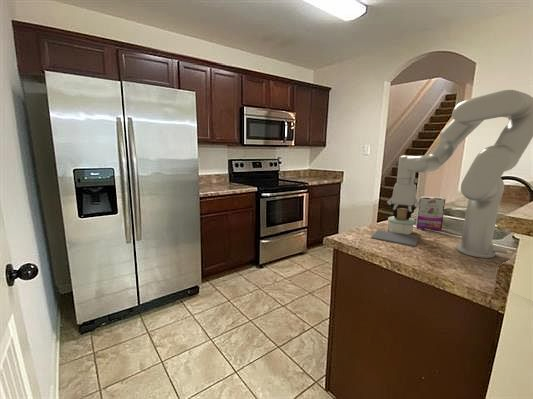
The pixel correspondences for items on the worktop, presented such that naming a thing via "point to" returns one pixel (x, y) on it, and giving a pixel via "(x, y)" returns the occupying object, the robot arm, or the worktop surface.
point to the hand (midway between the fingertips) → (401, 217)
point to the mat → (396, 238)
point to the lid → (401, 217)
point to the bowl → (400, 228)
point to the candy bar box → (430, 213)
